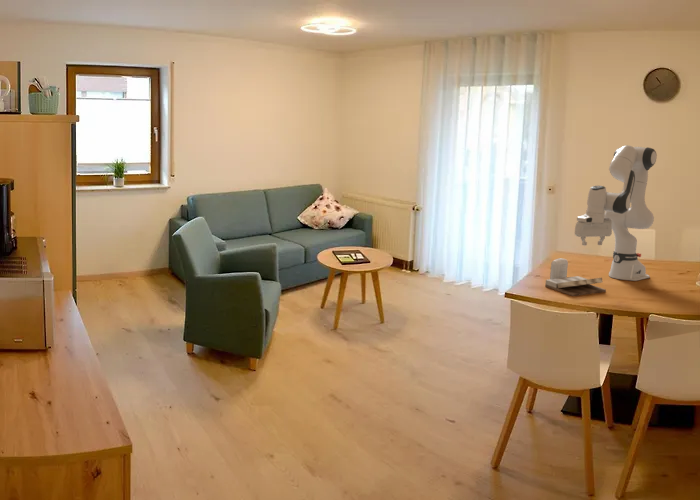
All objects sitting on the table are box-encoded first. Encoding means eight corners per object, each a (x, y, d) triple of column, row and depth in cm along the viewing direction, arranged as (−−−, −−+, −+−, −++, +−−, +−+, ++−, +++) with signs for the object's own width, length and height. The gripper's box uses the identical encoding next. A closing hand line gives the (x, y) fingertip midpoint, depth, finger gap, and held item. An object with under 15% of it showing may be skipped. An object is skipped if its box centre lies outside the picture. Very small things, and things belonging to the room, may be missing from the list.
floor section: (577, 282, 370) (577, 276, 370) (605, 291, 353) (606, 284, 352) (545, 286, 361) (545, 279, 360) (572, 296, 343) (573, 289, 343)
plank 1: (573, 286, 357) (573, 281, 357) (586, 284, 349) (585, 279, 349) (558, 288, 353) (557, 283, 353) (570, 286, 345) (569, 281, 345)
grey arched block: (561, 278, 378) (563, 256, 376) (567, 280, 375) (569, 258, 372) (548, 281, 373) (550, 258, 370) (554, 282, 369) (556, 260, 367)
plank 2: (590, 284, 362) (589, 279, 362) (602, 282, 354) (601, 277, 354) (574, 286, 357) (573, 281, 358) (587, 284, 349) (586, 279, 350)
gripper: (607, 217, 356) (604, 243, 358) (574, 217, 349) (571, 244, 352) (616, 218, 350) (613, 245, 352) (582, 219, 343) (579, 246, 346)
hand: (592, 245), depth 352 cm, fingers open, 8 cm apart
